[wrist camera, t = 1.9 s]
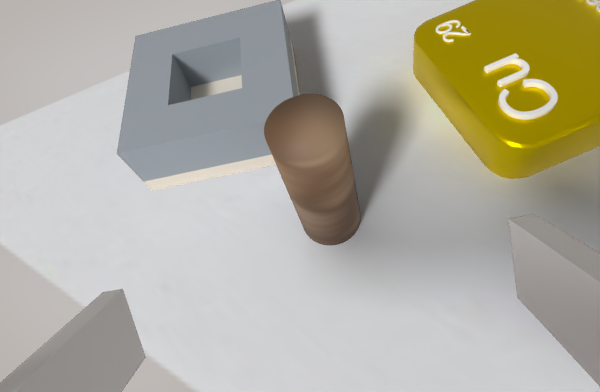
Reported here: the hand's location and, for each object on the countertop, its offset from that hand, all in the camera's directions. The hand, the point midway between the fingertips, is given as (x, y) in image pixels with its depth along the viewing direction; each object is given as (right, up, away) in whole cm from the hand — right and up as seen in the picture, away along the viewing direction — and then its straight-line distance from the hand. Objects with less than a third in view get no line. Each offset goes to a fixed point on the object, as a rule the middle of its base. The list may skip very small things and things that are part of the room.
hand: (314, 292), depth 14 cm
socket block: (-7, +11, +26) cm, 29 cm away
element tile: (+19, +12, +21) cm, 31 cm away
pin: (+2, +2, +18) cm, 18 cm away
